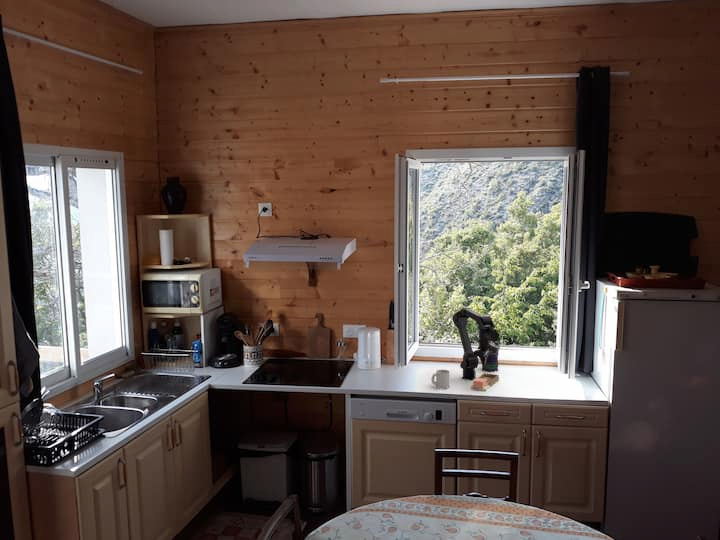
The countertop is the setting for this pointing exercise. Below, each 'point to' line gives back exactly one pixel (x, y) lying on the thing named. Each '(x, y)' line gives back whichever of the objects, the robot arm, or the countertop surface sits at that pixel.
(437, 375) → the cup
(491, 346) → the robot arm
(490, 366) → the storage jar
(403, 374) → the countertop surface
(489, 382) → the wooden tray
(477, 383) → the block
